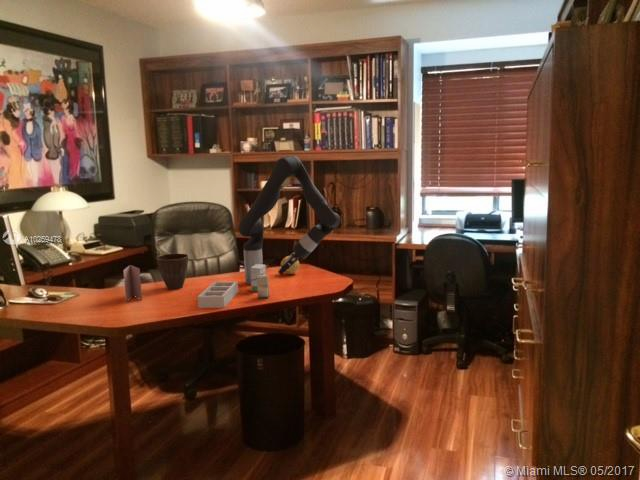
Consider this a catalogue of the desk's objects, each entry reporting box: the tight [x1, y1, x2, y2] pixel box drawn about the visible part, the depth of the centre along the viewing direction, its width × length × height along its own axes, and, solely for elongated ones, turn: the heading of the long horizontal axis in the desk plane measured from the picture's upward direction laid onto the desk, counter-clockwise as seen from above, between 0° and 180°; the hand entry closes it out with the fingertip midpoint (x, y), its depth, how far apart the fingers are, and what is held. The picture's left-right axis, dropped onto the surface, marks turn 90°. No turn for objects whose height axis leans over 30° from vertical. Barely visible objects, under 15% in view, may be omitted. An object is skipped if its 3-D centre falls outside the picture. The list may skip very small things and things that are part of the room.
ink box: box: [250, 264, 267, 293], centre depth 259 cm, size 9×5×12 cm, turn 168°
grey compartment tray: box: [197, 281, 239, 309], centre depth 244 cm, size 26×11×5 cm, turn 175°
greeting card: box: [122, 264, 143, 302], centre depth 248 cm, size 11×7×15 cm, turn 5°
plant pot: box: [156, 253, 189, 291], centre depth 266 cm, size 15×15×16 cm
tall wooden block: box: [257, 274, 270, 300], centre depth 245 cm, size 4×4×10 cm
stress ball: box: [280, 255, 300, 275], centre depth 289 cm, size 10×10×10 cm
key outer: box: [205, 294, 223, 296], centre depth 236 cm, size 6×8×1 cm
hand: (281, 271), depth 243 cm, fingers open, 8 cm apart
